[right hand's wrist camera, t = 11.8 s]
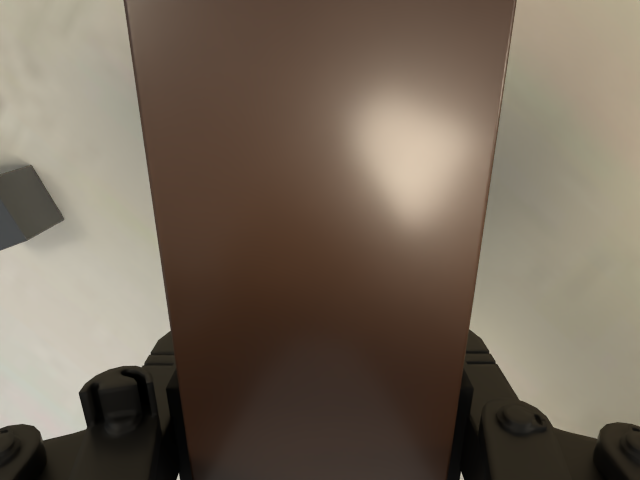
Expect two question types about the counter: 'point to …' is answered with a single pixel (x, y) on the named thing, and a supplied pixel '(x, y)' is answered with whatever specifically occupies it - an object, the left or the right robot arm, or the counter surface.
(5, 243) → the slate cube
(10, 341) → the counter surface
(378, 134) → the walnut bar
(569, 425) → the counter surface
